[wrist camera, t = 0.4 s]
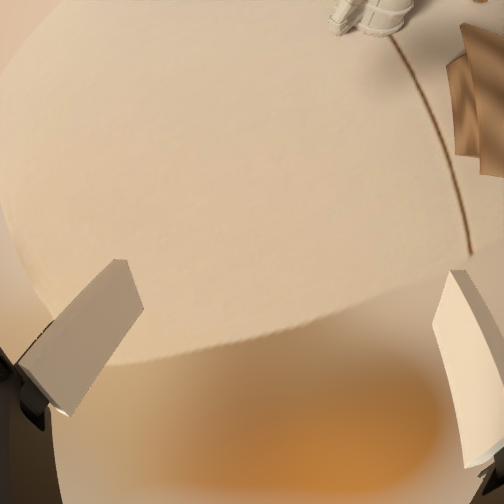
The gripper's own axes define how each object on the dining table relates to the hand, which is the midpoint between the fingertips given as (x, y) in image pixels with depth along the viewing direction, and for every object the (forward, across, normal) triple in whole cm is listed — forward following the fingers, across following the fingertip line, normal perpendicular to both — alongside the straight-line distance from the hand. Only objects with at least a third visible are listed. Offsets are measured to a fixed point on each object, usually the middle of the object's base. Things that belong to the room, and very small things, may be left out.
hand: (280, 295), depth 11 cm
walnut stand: (+28, +24, +7) cm, 38 cm away
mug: (+29, +8, +18) cm, 36 cm away
